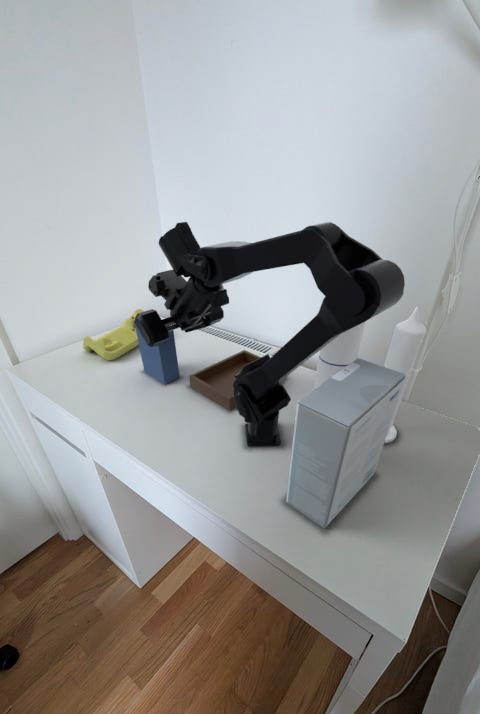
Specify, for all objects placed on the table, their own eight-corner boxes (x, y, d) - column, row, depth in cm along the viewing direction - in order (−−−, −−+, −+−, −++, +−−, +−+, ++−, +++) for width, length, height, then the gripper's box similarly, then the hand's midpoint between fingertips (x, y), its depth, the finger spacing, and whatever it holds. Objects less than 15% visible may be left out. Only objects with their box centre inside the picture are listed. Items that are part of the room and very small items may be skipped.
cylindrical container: (305, 403, 75) (321, 287, 59) (333, 397, 77) (357, 283, 61) (320, 422, 70) (343, 300, 54) (350, 415, 71) (381, 295, 56)
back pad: (179, 377, 84) (173, 327, 76) (165, 384, 81) (156, 333, 73) (158, 365, 89) (150, 316, 81) (144, 371, 86) (134, 322, 78)
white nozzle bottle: (379, 417, 71) (418, 296, 55) (403, 438, 66) (454, 311, 50) (351, 425, 69) (383, 302, 53) (373, 447, 64) (417, 318, 48)
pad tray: (244, 360, 91) (244, 349, 89) (283, 378, 83) (284, 367, 81) (190, 387, 81) (188, 375, 79) (229, 410, 73) (229, 398, 71)
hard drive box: (335, 453, 62) (359, 356, 50) (374, 475, 58) (410, 374, 46) (283, 502, 54) (296, 399, 41) (324, 531, 50) (352, 426, 37)
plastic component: (109, 356, 88) (81, 332, 89) (108, 374, 94) (82, 352, 94) (161, 325, 100) (135, 304, 100) (157, 342, 106) (133, 323, 106)
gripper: (212, 250, 66) (183, 294, 79) (128, 268, 56) (110, 316, 69) (240, 300, 67) (207, 336, 80) (163, 327, 57) (139, 363, 70)
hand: (168, 336), depth 75 cm, fingers open, 9 cm apart
